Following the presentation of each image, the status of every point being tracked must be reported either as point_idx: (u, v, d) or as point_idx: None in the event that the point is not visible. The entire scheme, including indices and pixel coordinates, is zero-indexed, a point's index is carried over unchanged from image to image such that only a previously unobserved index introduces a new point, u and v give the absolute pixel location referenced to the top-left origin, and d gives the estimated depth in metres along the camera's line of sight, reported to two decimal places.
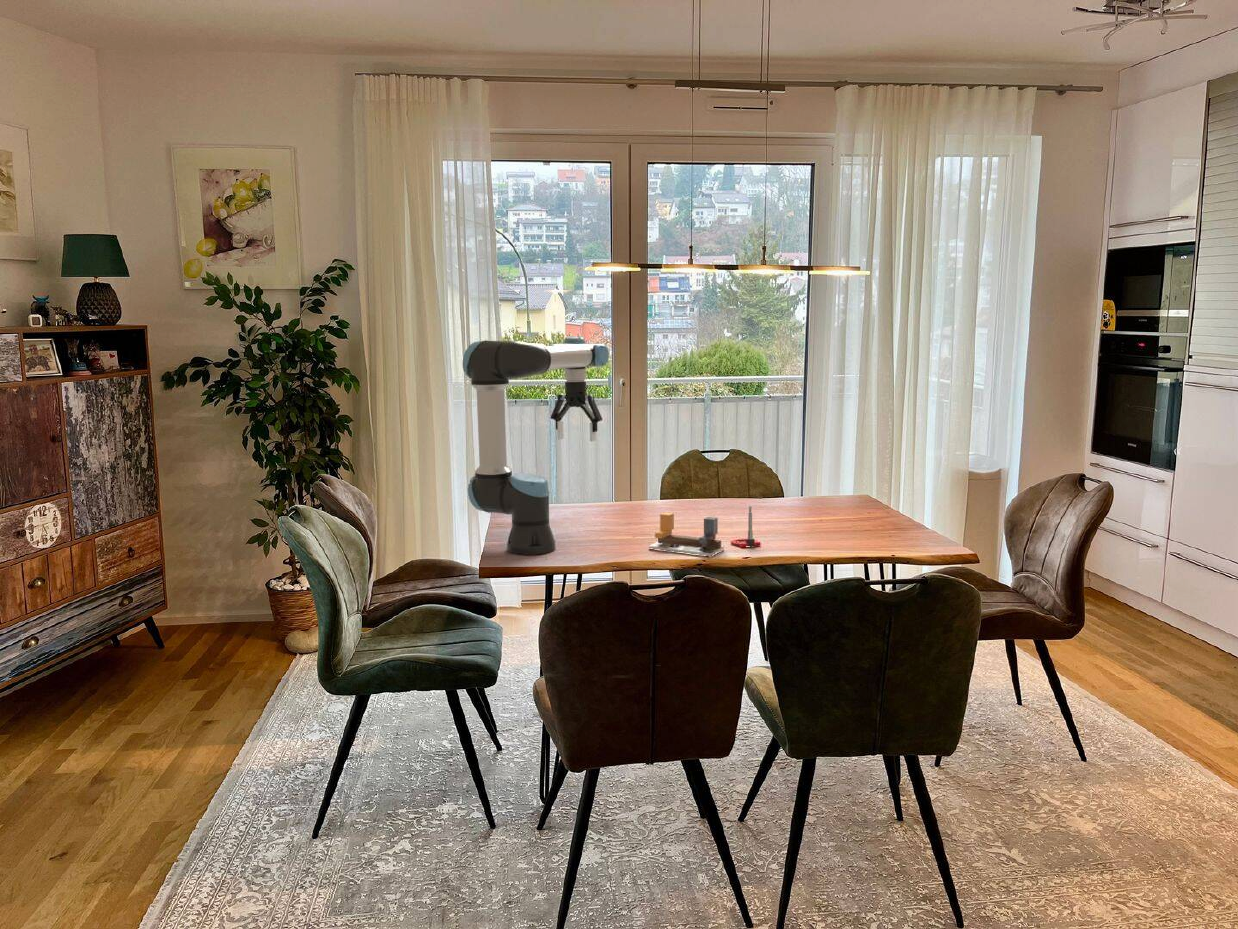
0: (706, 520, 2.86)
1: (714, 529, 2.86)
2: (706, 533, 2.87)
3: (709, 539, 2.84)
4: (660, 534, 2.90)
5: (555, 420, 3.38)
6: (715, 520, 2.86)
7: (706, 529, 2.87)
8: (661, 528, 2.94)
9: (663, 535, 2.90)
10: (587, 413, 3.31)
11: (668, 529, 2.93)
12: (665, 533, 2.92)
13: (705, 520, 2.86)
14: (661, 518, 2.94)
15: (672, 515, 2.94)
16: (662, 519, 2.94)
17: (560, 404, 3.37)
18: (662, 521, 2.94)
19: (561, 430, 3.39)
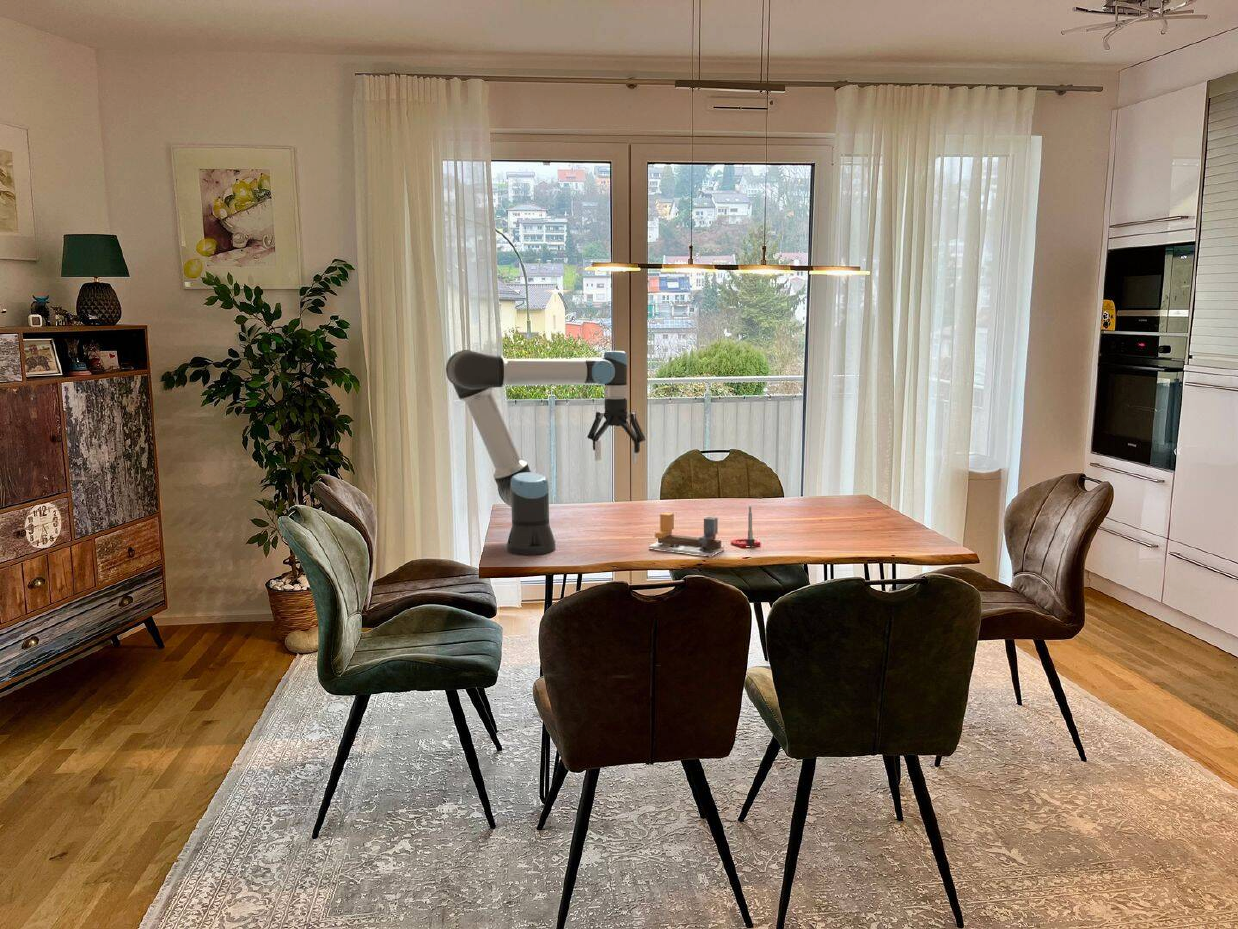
0: (706, 520, 2.86)
1: (714, 529, 2.86)
2: (706, 533, 2.87)
3: (709, 539, 2.84)
4: (660, 534, 2.90)
5: (592, 440, 3.14)
6: (715, 520, 2.86)
7: (706, 529, 2.87)
8: (661, 528, 2.94)
9: (663, 535, 2.90)
10: (629, 433, 3.07)
11: (668, 529, 2.93)
12: (665, 533, 2.92)
13: (705, 520, 2.86)
14: (661, 518, 2.94)
15: (672, 515, 2.94)
16: (662, 519, 2.94)
17: (598, 423, 3.13)
18: (662, 521, 2.94)
19: (599, 451, 3.15)
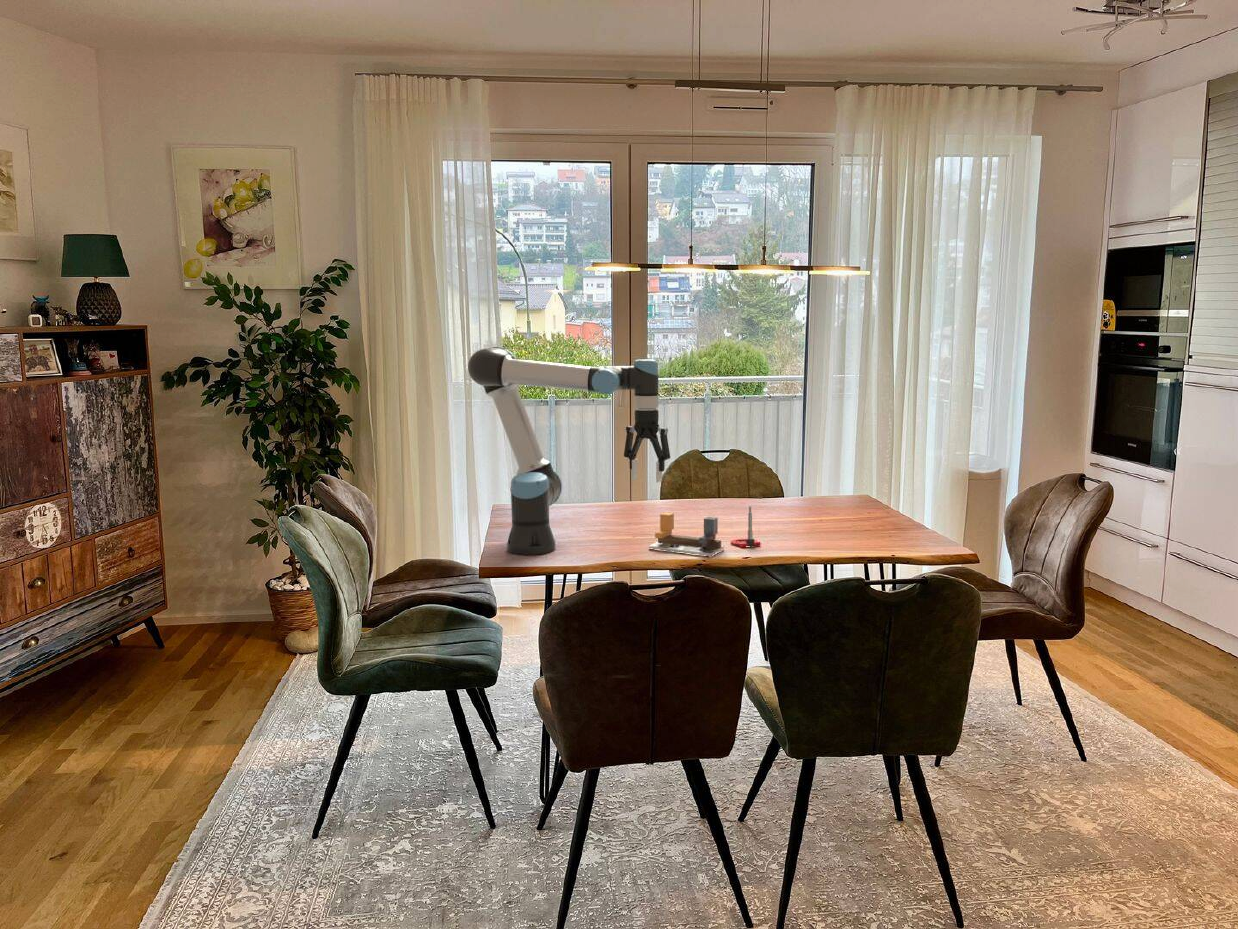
0: (706, 520, 2.86)
1: (714, 529, 2.86)
2: (706, 533, 2.87)
3: (709, 539, 2.84)
4: (660, 534, 2.90)
5: (629, 459, 2.97)
6: (715, 520, 2.86)
7: (706, 529, 2.87)
8: (661, 528, 2.94)
9: (663, 535, 2.90)
10: (656, 449, 2.92)
11: (668, 529, 2.93)
12: (665, 533, 2.92)
13: (705, 520, 2.86)
14: (661, 518, 2.94)
15: (672, 515, 2.94)
16: (662, 519, 2.94)
17: (631, 438, 2.97)
18: (662, 521, 2.94)
19: (636, 470, 2.98)
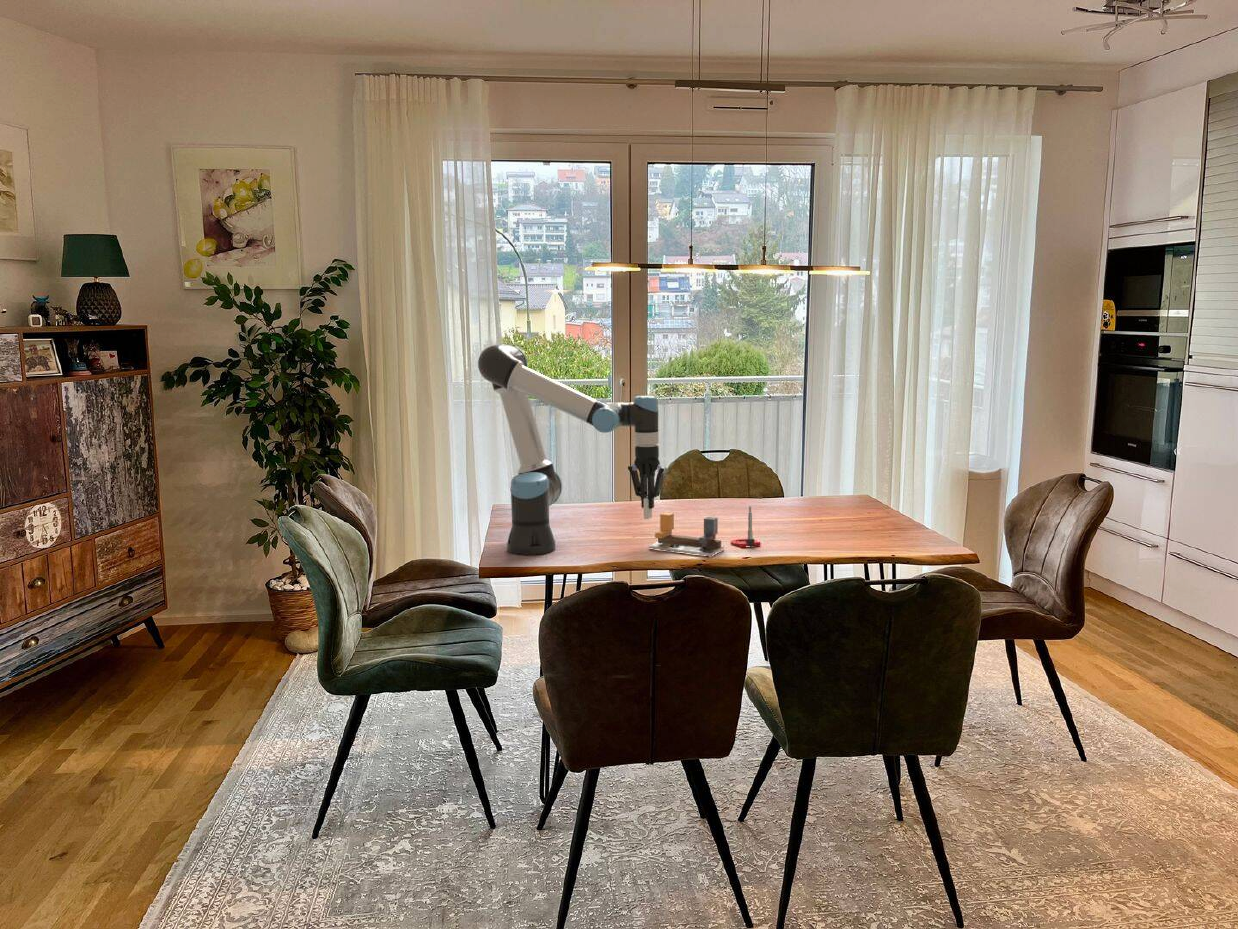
0: (706, 520, 2.86)
1: (714, 529, 2.86)
2: (706, 533, 2.87)
3: (709, 539, 2.84)
4: (660, 534, 2.90)
5: (642, 498, 2.96)
6: (715, 520, 2.86)
7: (706, 529, 2.87)
8: (661, 528, 2.94)
9: (663, 535, 2.90)
10: (649, 486, 2.95)
11: (668, 529, 2.93)
12: (665, 533, 2.92)
13: (705, 520, 2.86)
14: (661, 518, 2.94)
15: (672, 515, 2.94)
16: (662, 519, 2.94)
17: (636, 476, 2.98)
18: (662, 521, 2.94)
19: None
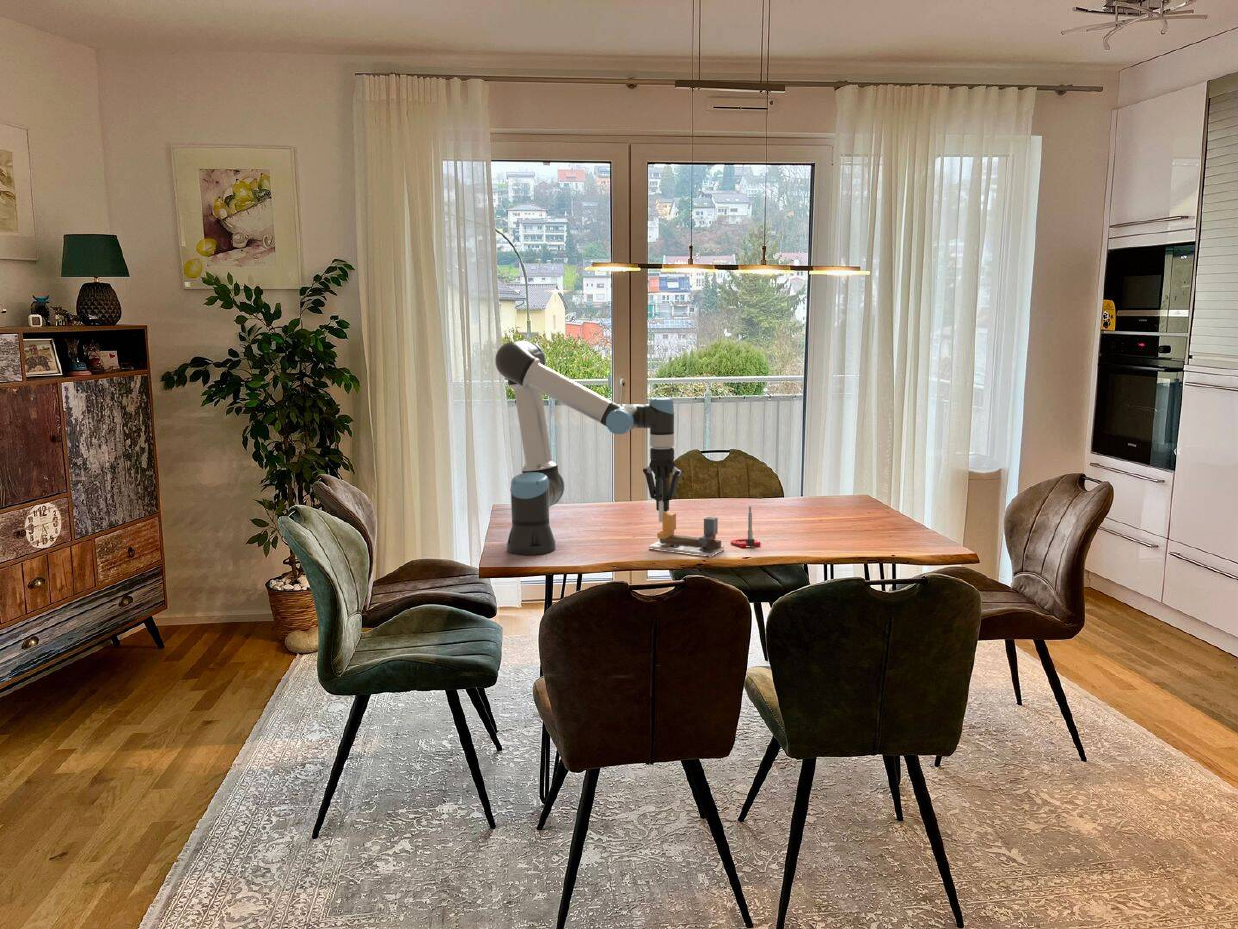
0: (706, 520, 2.86)
1: (714, 529, 2.86)
2: (706, 533, 2.87)
3: (709, 539, 2.84)
4: (662, 534, 2.89)
5: (657, 500, 2.94)
6: (715, 520, 2.86)
7: (706, 529, 2.87)
8: (663, 528, 2.94)
9: (665, 535, 2.90)
10: (664, 488, 2.92)
11: (670, 529, 2.93)
12: (667, 533, 2.91)
13: (705, 520, 2.86)
14: (663, 518, 2.93)
15: (674, 515, 2.94)
16: (664, 520, 2.93)
17: (651, 478, 2.95)
18: (664, 522, 2.93)
19: None
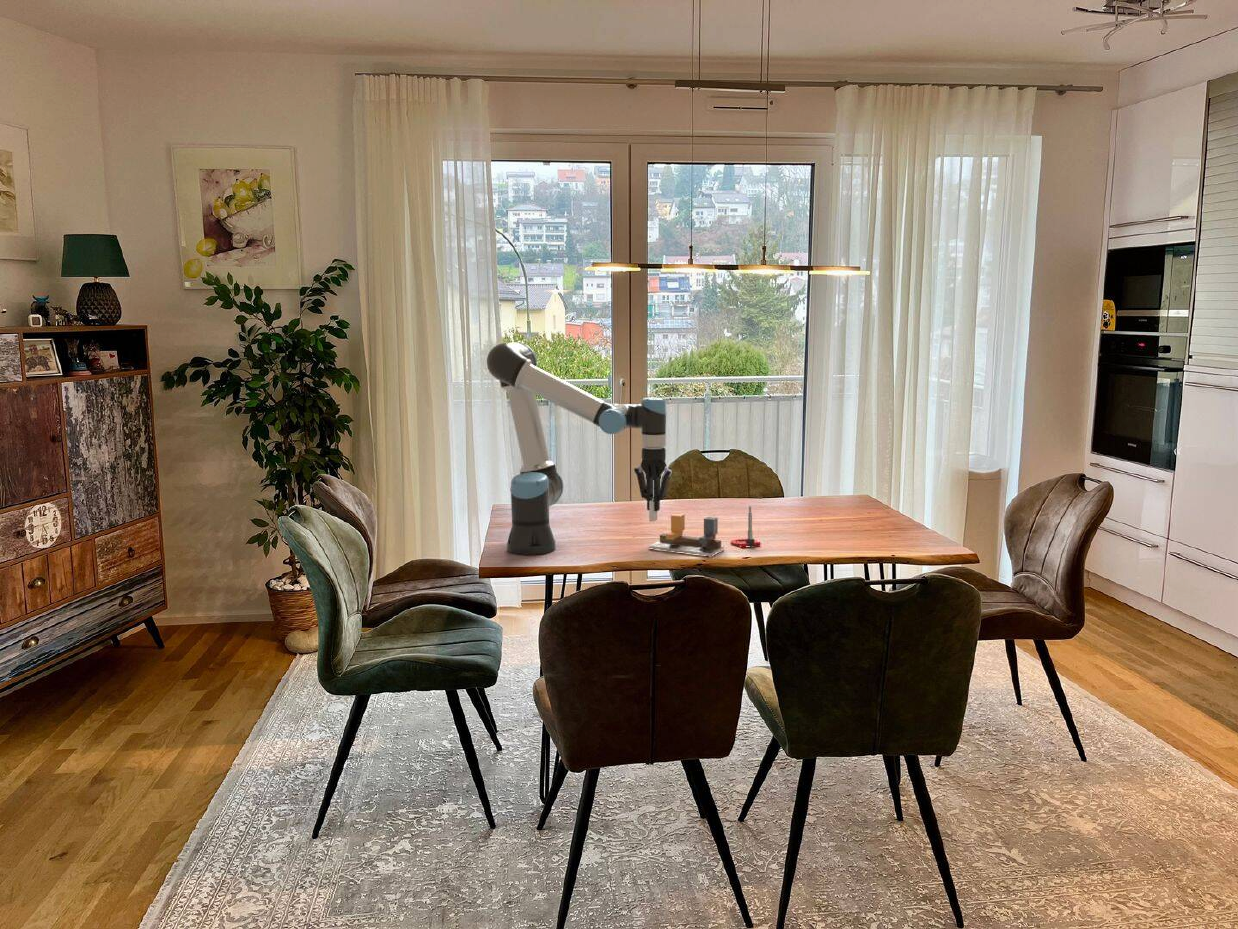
0: (706, 520, 2.86)
1: (714, 529, 2.86)
2: (706, 533, 2.87)
3: (709, 539, 2.84)
4: (671, 535, 2.88)
5: (647, 500, 2.95)
6: (715, 520, 2.86)
7: (706, 529, 2.87)
8: (672, 529, 2.92)
9: (674, 536, 2.89)
10: (655, 488, 2.94)
11: (679, 530, 2.91)
12: (676, 534, 2.90)
13: (705, 520, 2.86)
14: (672, 519, 2.92)
15: (683, 516, 2.92)
16: (673, 520, 2.92)
17: (642, 478, 2.96)
18: (673, 523, 2.92)
19: None
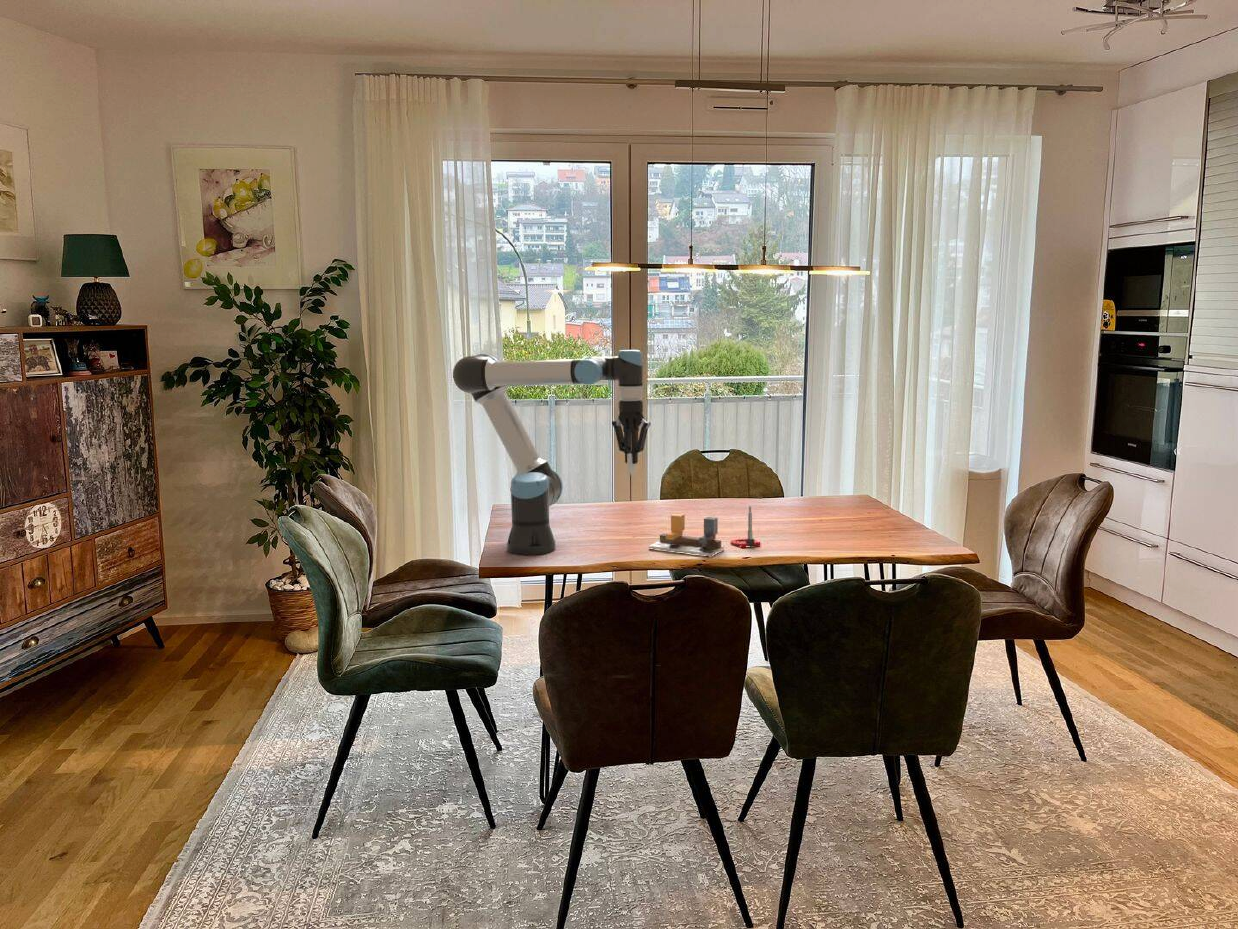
0: (706, 520, 2.86)
1: (714, 529, 2.86)
2: (706, 533, 2.87)
3: (709, 539, 2.84)
4: (671, 535, 2.88)
5: (625, 453, 2.95)
6: (715, 520, 2.86)
7: (706, 529, 2.87)
8: (672, 529, 2.92)
9: (674, 536, 2.89)
10: (633, 440, 2.93)
11: (679, 530, 2.91)
12: (676, 534, 2.90)
13: (705, 520, 2.86)
14: (672, 519, 2.92)
15: (683, 516, 2.92)
16: (673, 520, 2.92)
17: (620, 431, 2.96)
18: (673, 523, 2.92)
19: None
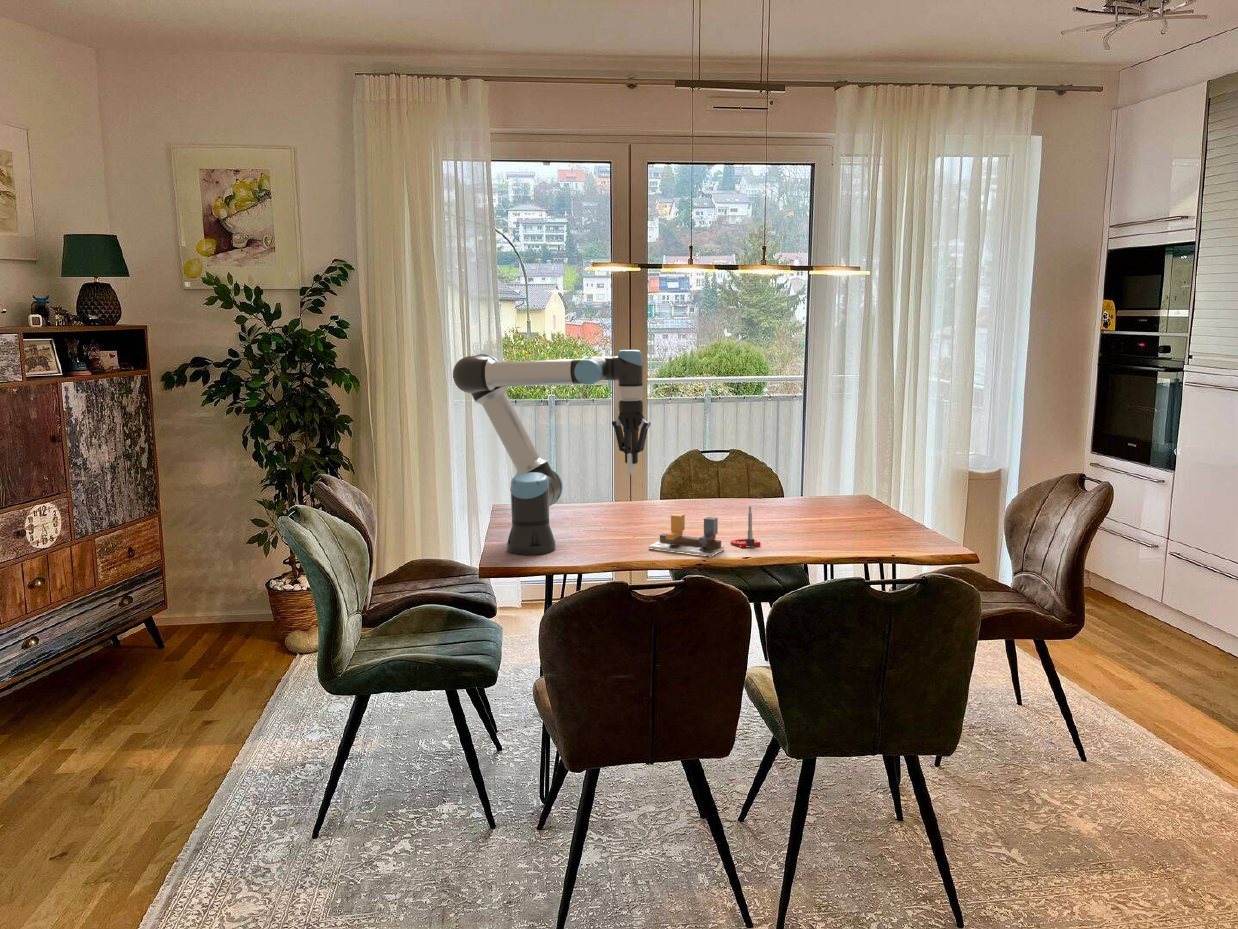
0: (706, 520, 2.86)
1: (714, 529, 2.86)
2: (706, 533, 2.87)
3: (709, 539, 2.84)
4: (671, 535, 2.88)
5: (625, 453, 2.95)
6: (715, 520, 2.86)
7: (706, 529, 2.87)
8: (672, 529, 2.92)
9: (674, 536, 2.89)
10: (633, 440, 2.93)
11: (679, 530, 2.91)
12: (676, 534, 2.90)
13: (705, 520, 2.86)
14: (672, 519, 2.92)
15: (683, 516, 2.92)
16: (673, 520, 2.92)
17: (620, 431, 2.96)
18: (673, 523, 2.92)
19: None
